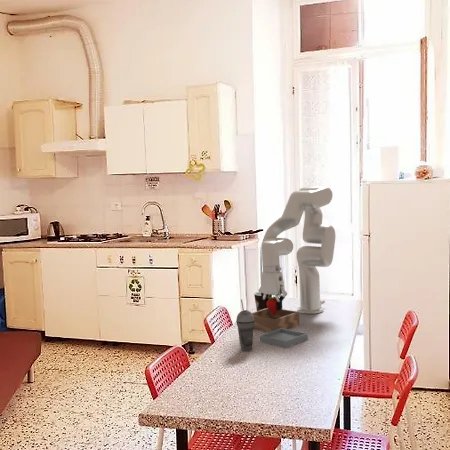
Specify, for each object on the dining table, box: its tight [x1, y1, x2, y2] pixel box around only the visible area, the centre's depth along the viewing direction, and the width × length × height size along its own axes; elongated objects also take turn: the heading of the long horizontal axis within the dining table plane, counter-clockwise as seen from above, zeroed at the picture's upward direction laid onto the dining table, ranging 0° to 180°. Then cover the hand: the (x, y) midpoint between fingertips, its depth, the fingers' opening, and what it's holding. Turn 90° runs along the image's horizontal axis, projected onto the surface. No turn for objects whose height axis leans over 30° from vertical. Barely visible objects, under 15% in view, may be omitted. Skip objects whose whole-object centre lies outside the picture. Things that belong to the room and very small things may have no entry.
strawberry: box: [266, 295, 277, 315], centre depth 262 cm, size 6×8×10 cm
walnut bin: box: [251, 308, 301, 333], centre depth 263 cm, size 17×17×6 cm
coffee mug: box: [253, 291, 273, 311], centre depth 287 cm, size 12×9×10 cm
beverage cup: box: [235, 298, 255, 353], centre depth 230 cm, size 7×7×20 cm
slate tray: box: [258, 328, 309, 349], centre depth 241 cm, size 14×14×2 cm
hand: (273, 308), depth 263 cm, fingers closed on strawberry, 6 cm apart
